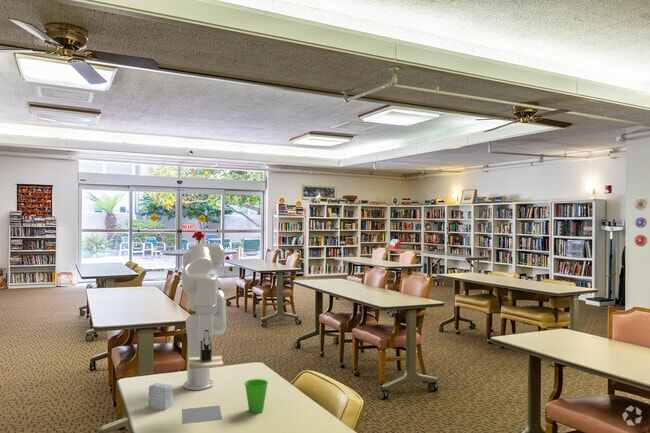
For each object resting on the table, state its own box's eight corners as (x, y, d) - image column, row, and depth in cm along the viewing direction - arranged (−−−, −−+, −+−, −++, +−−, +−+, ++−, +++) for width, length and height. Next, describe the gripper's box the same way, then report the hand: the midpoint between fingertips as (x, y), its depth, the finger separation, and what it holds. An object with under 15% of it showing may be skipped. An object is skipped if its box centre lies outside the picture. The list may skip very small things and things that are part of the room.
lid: (189, 359, 184) (189, 338, 184) (221, 357, 187) (221, 336, 187) (189, 369, 172) (189, 346, 173) (223, 366, 176) (223, 344, 176)
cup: (263, 417, 178) (263, 387, 178) (240, 415, 180) (240, 385, 180) (271, 408, 187) (271, 379, 187) (249, 406, 188) (249, 378, 189)
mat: (182, 410, 184) (182, 409, 184) (219, 406, 188) (219, 405, 188) (182, 425, 171) (182, 423, 171) (222, 420, 175) (222, 419, 175)
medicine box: (172, 407, 187) (172, 384, 187) (165, 411, 183) (165, 388, 183) (155, 404, 190) (156, 382, 190) (148, 408, 186) (148, 385, 186)
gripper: (195, 306, 187) (195, 353, 187) (196, 313, 171) (195, 365, 171) (215, 305, 189) (215, 351, 189) (217, 312, 173) (217, 364, 173)
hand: (205, 357), depth 180 cm, fingers closed on lid, 4 cm apart
